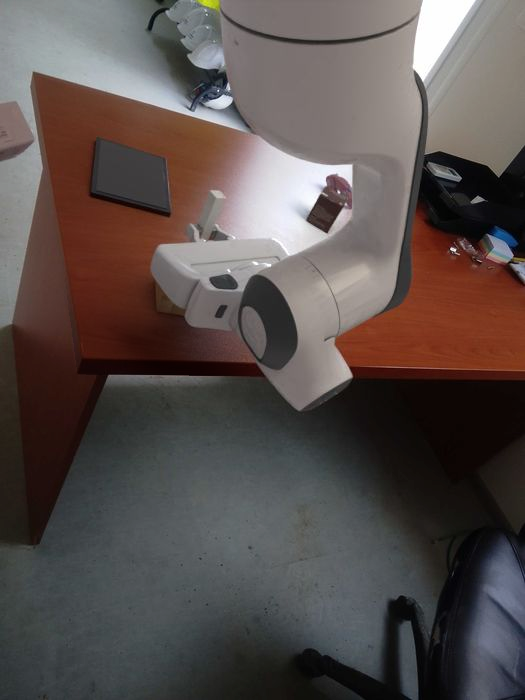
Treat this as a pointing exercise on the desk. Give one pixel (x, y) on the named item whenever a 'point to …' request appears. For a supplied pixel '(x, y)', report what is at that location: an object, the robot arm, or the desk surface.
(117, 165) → the plate
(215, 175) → the desk surface
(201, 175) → the desk surface
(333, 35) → the robot arm
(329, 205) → the box
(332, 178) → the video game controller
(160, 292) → the pen stand
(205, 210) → the white square bar
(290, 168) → the desk surface
